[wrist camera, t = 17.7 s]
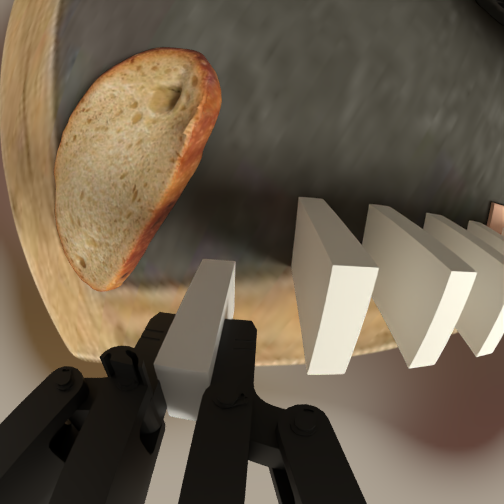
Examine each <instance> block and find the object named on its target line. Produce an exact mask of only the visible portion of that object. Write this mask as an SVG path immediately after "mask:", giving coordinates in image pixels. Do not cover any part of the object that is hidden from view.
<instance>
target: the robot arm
mask: <svg viewBox="0 0 504 504" xmlns="http://www.w3.org/2000/svg"><path fill="white" fill-rule="evenodd" d="M476 1H477V2H478V3H479V5H480V6H482V7H483V8H484V9H485V10H486V11H487V12H488V13H489V14H490V15H491V16H492V17H493V18H494V19H496V20H497V21H498V22H499V23H501V24H502V25H503V26H504V0H476ZM234 293H235V261H226V260H212V259H202V261H201V263H200V265H199V268H198V270H197V272H196V274H195V276H194V278H193V280H192V282H191V284H190V286H189V288H188V290H187V292H186V294H185V296H184V298H183V300H182V303H181V305H180V307H179V309H178V311H177V313H176V314H171V313H163V312H159V313H158V314H157V315H155V316H154V317H153V318H151V319H150V321H149V323H148V324H147V326H146V328H145V330H144V332H143V333H142V335H141V338H140V339H139V341H138V342H137V344H136V346H135V348H132V347H130V346H117V347H112V348H110V349H108V350H107V351H105V352H104V353H103V354H102V355H101V356H100V359H101V361H102V364H103V366H104V368H105V371H106V373H107V375H108V377H105V378H84V377H83V375H82V373H81V372H80V371H79V370H78V369H76V368H74V367H67V366H64V367H61V368H58V369H56V370H55V371H53V372H52V373H51V374H50V375H49V376H48V377H47V378H46V379H45V380H44V381H43V382H42V383H41V384H40V385H39V386H38V387H37V388H36V389H34V390H33V391H32V393H30V394H29V395H28V396H27V397H26V398H25V399H24V400H23V401H22V402H21V403H20V404H19V405H18V406H17V407H16V408H15V409H14V410H13V411H12V413H11V414H10V415H9V416H8V417H7V418H6V419H5V420H4V421H3V422H2V423H1V424H0V504H144V503H145V500H146V496H147V492H148V488H149V484H150V481H151V477H152V474H153V470H154V467H155V463H156V459H157V456H158V452H159V449H160V446H161V442H162V439H163V435H164V432H165V423H164V420H163V419H164V415H165V412H166V409H167V411H168V413H169V416H172V417H177V418H182V419H188V420H194V421H196V425H195V430H194V434H193V438H192V443H191V447H190V452H189V456H188V461H187V465H186V470H185V474H184V479H183V483H182V488H181V493H180V497H179V502H178V504H244V501H245V490H246V489H245V488H246V477H247V465H248V460H250V461H253V462H256V463H258V464H261V465H264V466H268V467H269V470H270V474H271V478H272V481H273V485H274V488H275V492H276V496H277V499H278V502H279V504H367V503H366V501H365V499H364V497H363V494H362V492H361V490H360V488H359V485H358V483H357V481H356V479H355V477H354V474H353V472H352V470H351V468H350V466H349V463H348V461H347V459H346V457H345V454H344V452H343V450H342V448H341V445H340V443H339V441H338V439H337V437H336V434H335V432H334V430H333V428H332V426H331V424H330V421H329V419H328V418H327V416H326V415H325V413H324V412H323V411H321V410H320V409H318V408H317V407H314V406H311V405H307V404H304V405H303V404H302V405H294V406H292V407H289V408H287V409H282V408H279V407H276V406H273V405H270V404H268V403H266V402H265V401H263V400H262V399H260V397H259V396H258V395H257V394H256V392H255V389H254V383H253V382H254V368H255V353H256V338H257V329H256V328H255V326H254V324H253V322H252V321H247V320H235V319H233V313H234ZM68 419H69V420H68Z"/></svg>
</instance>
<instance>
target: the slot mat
mask: <svg viewBox="0 0 504 504" xmlns="http://www.w3.org/2000/svg"><path fill="white" fill-rule="evenodd" d="M487 227H489V228H491V229H492V230H494V231H496V232H497V233H499V234H502V230H503V227H504V206H503V205H499V204H496V203H493V202H492V203H491V208H490V213H489V217H488V221H487Z"/></svg>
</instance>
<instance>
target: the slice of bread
mask: <svg viewBox="0 0 504 504" xmlns="http://www.w3.org/2000/svg"><path fill="white" fill-rule="evenodd" d="M221 102H222V99H221V89H220V84H219V80H218V77H217V74H216V72H215V71H214V69H213V68H212V66H211V65H210V63H209V62H208V61H207V59H206V58H205V56H204V55H203V54H201V53H200V52H197V51H194V50H189V49H181V48H170V47H160V48H154V49H151V50H147V51H144V52H141V53H139V54H136V55H134V56H132V57H130V58H128V59H126V60H124V61H122V62H120V63H119V64H117V65H115V66H113V67H112V68H110V69H109V70H108V71H106V72H105V73H103V74H102V75H101V76H99V77H98V78H97V80H96V81H95V82H94V83H93V84H92V85H91V87H90V88H89V89H88V91H87V92H86V93H85V95H84V96H83V97H82V99H81V100H80V102H79V103H78V105H77V106H76V108H75V110H74V111H73V113H72V114H71V116H70V118H69V121H68V124H67V126H66V128H65V129H64V131H63V134H62V138H61V142H60V145H59V147H58V151H57V155H56V161H55V166H54V176H55V182H56V202H55V218H56V225H57V231H58V234H59V237H60V240H61V243H62V246H63V250H64V253H65V255H66V257H67V259H68V260H69V262H70V264H71V266H72V267H73V269H74V270H75V272H76V273H77V274H78V276H79V277H80V278H81V280H83V281H84V282H85V283H86V284H88V285H89V286H90V287H91V288H92V289H94V290H97V291H101V292H103V291H109V290H112V289H115V288H117V287H119V286H121V285H122V283H123V281H124V280H125V279H126V278H127V277H128V276H129V275H130V273H131V272H132V271H133V270H134V268H135V267H136V266H137V264H138V262H139V260H140V259H141V257H142V256H143V254H144V253H145V251H146V249H147V247H148V245H149V243H150V242H151V240H152V238H153V237H154V235H155V234H156V232H157V230H158V229H159V227H160V226H161V224H162V223H163V221H164V220H165V218H166V217H167V215H168V214H169V212H170V211H171V209H172V208H173V206H174V205H175V203H176V202H177V200H178V198H179V197H180V195H181V193H182V192H183V190H184V188H185V187H186V185H187V183H188V181H189V180H190V178H191V177H192V175H193V174H194V172H195V170H196V169H197V167H198V165H199V163H200V161H201V158H202V153H203V149H204V147H205V145H206V142H207V140H208V138H209V136H210V134H211V132H212V130H213V127H214V125H215V123H216V120H217V117H218V114H219V111H220V107H221Z"/></svg>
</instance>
